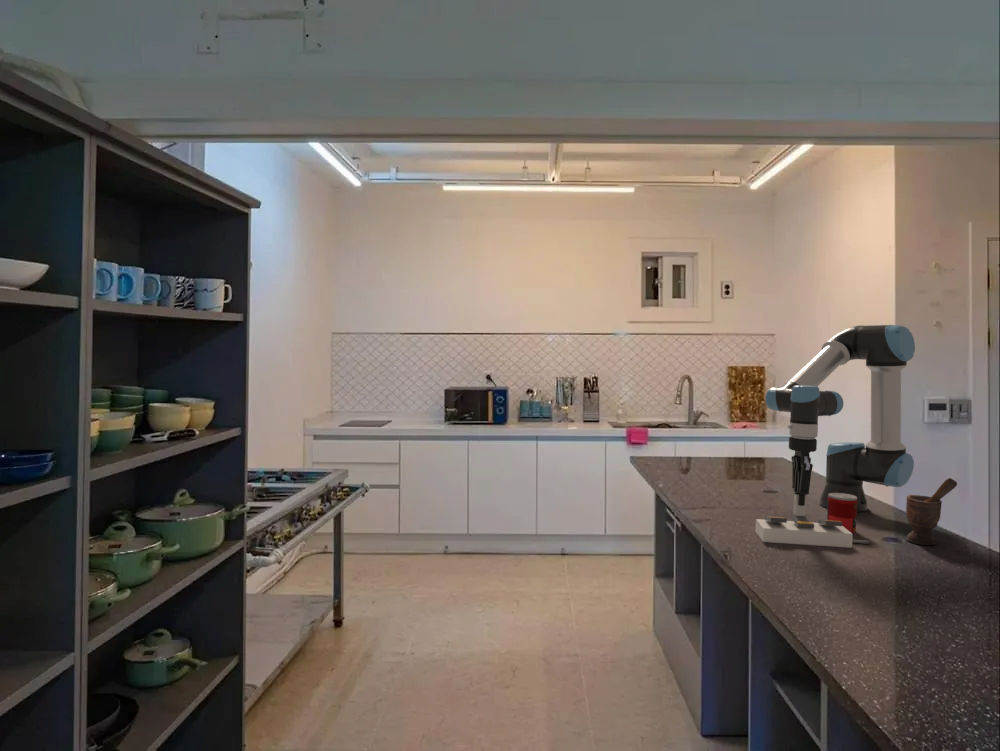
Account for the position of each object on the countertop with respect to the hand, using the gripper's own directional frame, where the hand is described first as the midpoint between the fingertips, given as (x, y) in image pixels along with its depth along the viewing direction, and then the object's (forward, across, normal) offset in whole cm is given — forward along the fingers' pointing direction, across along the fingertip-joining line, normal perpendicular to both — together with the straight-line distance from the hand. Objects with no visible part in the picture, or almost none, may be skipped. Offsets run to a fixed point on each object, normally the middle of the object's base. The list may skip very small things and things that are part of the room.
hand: (799, 514), depth 191 cm
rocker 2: (+1, +3, +8) cm, 8 cm away
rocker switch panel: (+7, +3, +3) cm, 8 cm away
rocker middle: (+1, +3, 0) cm, 3 cm away
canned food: (+7, -10, +15) cm, 19 cm away
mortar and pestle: (+7, -2, +36) cm, 37 cm away
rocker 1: (+1, +3, -7) cm, 8 cm away
